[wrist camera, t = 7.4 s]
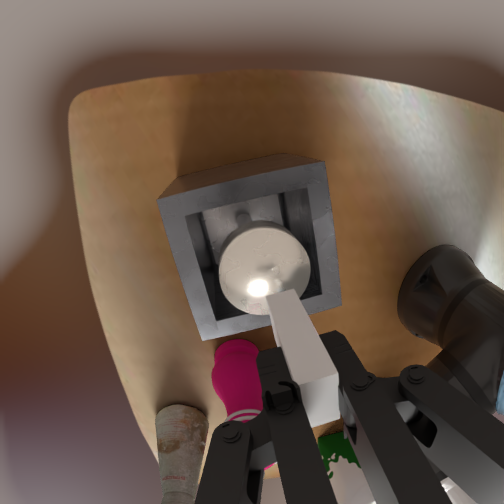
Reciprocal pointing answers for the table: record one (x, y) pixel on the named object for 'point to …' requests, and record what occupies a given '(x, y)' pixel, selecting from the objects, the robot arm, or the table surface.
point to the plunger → (255, 253)
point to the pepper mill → (238, 380)
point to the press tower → (238, 190)
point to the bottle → (180, 451)
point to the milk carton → (344, 470)
